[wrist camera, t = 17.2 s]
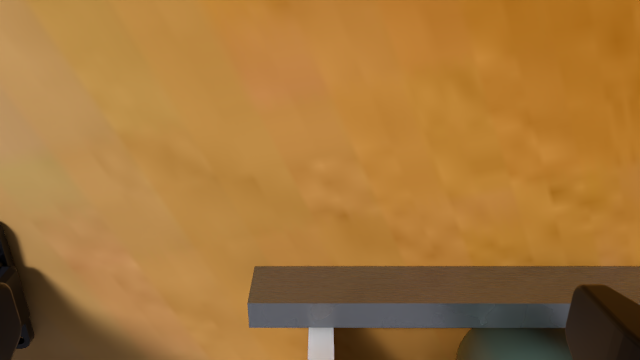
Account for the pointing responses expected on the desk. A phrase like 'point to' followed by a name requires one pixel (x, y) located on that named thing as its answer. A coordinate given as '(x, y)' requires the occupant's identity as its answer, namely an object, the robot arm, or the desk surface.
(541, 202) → the desk surface
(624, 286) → the frame
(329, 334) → the pusher
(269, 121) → the desk surface
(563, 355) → the jar
